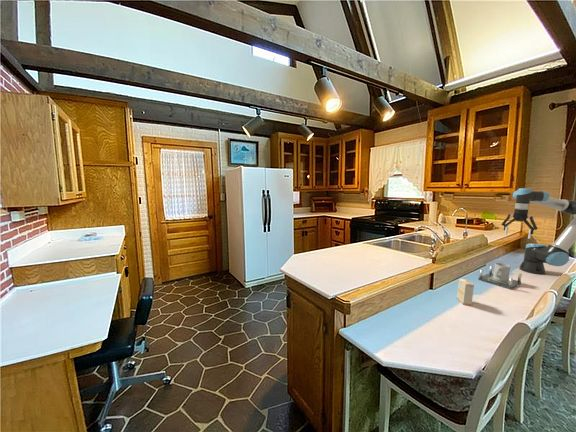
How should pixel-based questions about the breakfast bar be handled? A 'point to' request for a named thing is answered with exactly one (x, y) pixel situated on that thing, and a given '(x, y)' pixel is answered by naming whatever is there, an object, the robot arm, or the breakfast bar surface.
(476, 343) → the breakfast bar surface
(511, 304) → the breakfast bar surface
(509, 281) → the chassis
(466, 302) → the supplement box
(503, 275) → the mug
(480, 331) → the breakfast bar surface
